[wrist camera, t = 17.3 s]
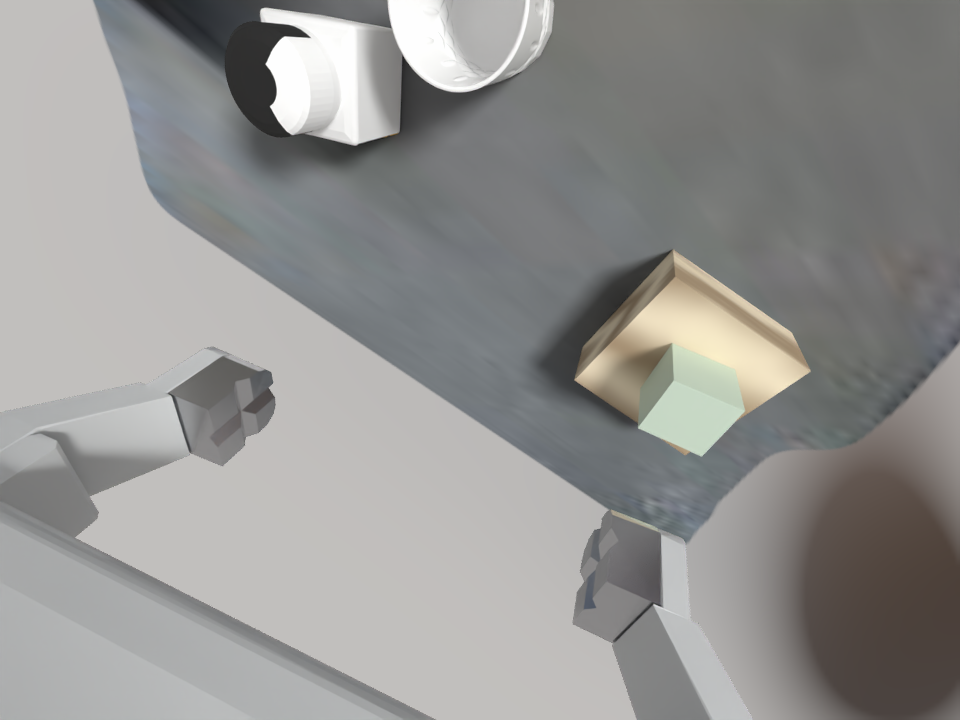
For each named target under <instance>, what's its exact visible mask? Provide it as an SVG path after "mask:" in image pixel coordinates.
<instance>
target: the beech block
mask: <svg viewBox="0 0 960 720" xmlns="http://www.w3.org/2000/svg"><path fill="white" fill-rule="evenodd" d="M672 343H673V344H676V345H678V346H681V347H683V348H685V349H688V350H690V351H692V352H695V353H697V354H699V355H702V356H704V357H707V358H709V359H711V360H714V361H716V362H718V363H721V364H723V365H726V366H728V367H730V368H733V369H735V371H736V375H737V379H738V383H739V387H740V392H741V396H742V400H743V404H744V408H745V412H744V413H743V414H742V415H741V416H740V417H739V418H738V419H737V420H739V419H740V418H742V417H743V416H745V415H746V414H748V413H749V412H751V411H752V410H754V409H755V408H757V407H758V406H760V405H761V404H763V403H764V402H766V401H767V400H769V399H770V398H772V397H773V396H775V395H776V394H778V393H779V392H781V391H782V390H784V389H785V388H787V387H788V386H790V385H791V384H793V383H794V382H796V381H797V380H799V379H800V378H801V377H803V376H804V375H806V374H807V373H809V372H810V369H809V367H808V365H807V363H806V361H805V359H804V357H803V355H802V353H801V351H800V349H799V347H798V344H797V342H796V340H795V338H794V336H793V334H792V333H791V332H790V331H789V330H787V329H786V328H784V327H783V326H781V325H780V324H779V323H777V322H776V321H774V320H773V319H772V318H770V317H769V316H767V315H766V314H764V313H763V312H762V311H760V310H759V309H757V308H756V307H754V306H753V305H752V304H750V303H749V302H747V301H746V300H744V299H743V298H742V297H740V296H739V295H737V294H736V293H734V292H733V291H732V290H730V289H729V288H727V287H726V286H724V285H723V284H722V283H720V282H719V281H717V280H716V279H715V278H713V277H712V276H710V275H709V274H707V273H706V272H705V271H703V270H702V269H700V268H699V267H697V266H696V265H695V264H693V263H692V262H690V261H689V260H687V259H686V258H685V257H683V256H682V255H680V254H679V253H677V252H676V251H675V250H672V251H671V252H670V253H669V254H668V255H667V256H666V258H665V259H664V260H663V261H662V262H661V263H660V264H659V265H658V266H657V267H656V268H655V269H654V270H653V272H652V273H651V274H650V275H649V276H648V277H647V278H646V279H645V280H644V281H643V282H642V283H641V285H640V286H639V287H638V288H637V289H636V290H635V291H634V292H633V293H632V294H631V295H630V296H629V297H628V299H627V300H626V301H625V302H624V303H623V304H622V305H621V306H620V307H619V308H618V309H617V310H616V312H615V313H614V314H613V315H612V316H611V317H610V318H609V319H608V320H607V321H606V322H605V323H604V324H603V326H602V327H601V328H600V329H599V330H598V331H597V332H596V333H595V334H594V335H593V336H592V337H591V339H590V340H589V341H588V342H587V343H586V344H585V345H584V346H583V348H582V352H581V356H580V360H579V364H578V368H577V371H576V375H575V379H574V380H575V381H576V382H578V383H579V384H581V385H582V386H584V387H585V388H587V389H588V390H590V391H591V392H593V393H594V394H595V395H597V396H598V397H600V398H601V399H603V400H604V401H606V402H607V403H609V404H610V405H612V406H613V407H615V408H616V409H618V410H619V411H621V412H622V413H624V414H625V415H627V416H628V417H630V418H631V419H632V420H634V421H635V422H637V423H638V417H639V401H640V388H641V387H642V385H643V384H644V383H645V381H646V380H647V378H648V377H649V375H650V374H651V373H652V371H653V370H654V368H655V367H656V365H657V364H658V363H659V361H660V360H661V358H662V357H663V355H664V354H665V353H666V351H667V350H668V348H669V347H670V346H671V344H672ZM737 420H736V421H737ZM736 421H735V422H736ZM661 439H662V438H661ZM662 440H664V439H662ZM664 441H665V442H666V443H668V444H669V445H671V446H672V447H674V448H675V449H677V450H678V451H680V452H681V453H683V454H684V455H686V454H688V453H689V452H691V451H688V450H686V449H684V448H682V447H679V446H677V445H675V444H673V443H671V442H668V441H666V440H664Z"/></svg>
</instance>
